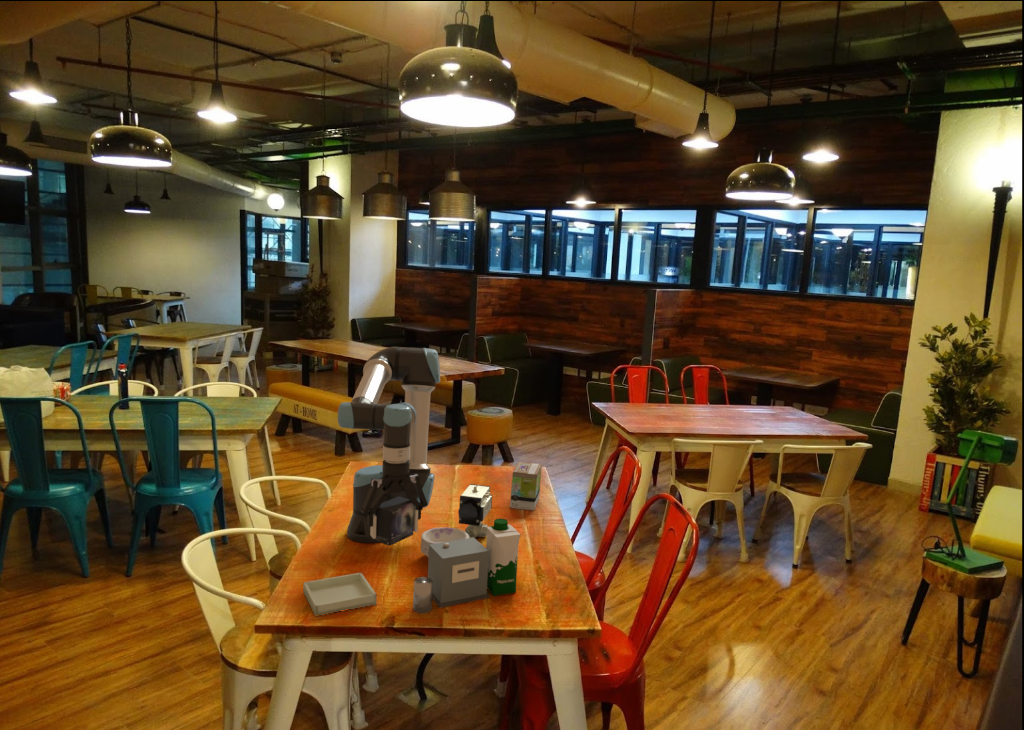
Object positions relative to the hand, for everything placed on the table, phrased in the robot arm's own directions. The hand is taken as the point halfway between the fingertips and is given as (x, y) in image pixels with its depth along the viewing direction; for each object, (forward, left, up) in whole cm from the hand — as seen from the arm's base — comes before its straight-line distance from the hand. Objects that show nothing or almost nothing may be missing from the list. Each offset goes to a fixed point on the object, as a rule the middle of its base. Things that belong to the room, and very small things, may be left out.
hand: (394, 533), depth 199 cm
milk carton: (+13, +28, -16) cm, 35 cm away
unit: (+11, +15, -16) cm, 25 cm away
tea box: (-47, +71, -17) cm, 87 cm away
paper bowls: (-12, +21, -17) cm, 30 cm away
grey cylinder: (+15, +3, -16) cm, 22 cm away
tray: (+1, -16, -16) cm, 23 cm away
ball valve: (-25, +38, -16) cm, 49 cm away
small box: (0, 0, -2) cm, 2 cm away
